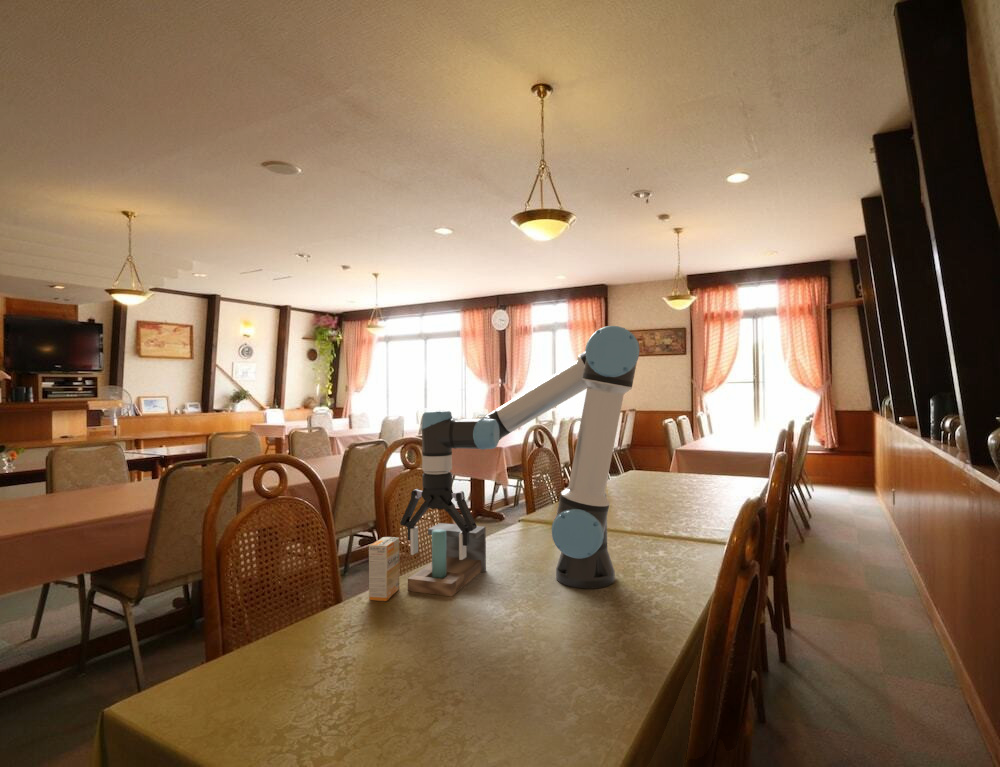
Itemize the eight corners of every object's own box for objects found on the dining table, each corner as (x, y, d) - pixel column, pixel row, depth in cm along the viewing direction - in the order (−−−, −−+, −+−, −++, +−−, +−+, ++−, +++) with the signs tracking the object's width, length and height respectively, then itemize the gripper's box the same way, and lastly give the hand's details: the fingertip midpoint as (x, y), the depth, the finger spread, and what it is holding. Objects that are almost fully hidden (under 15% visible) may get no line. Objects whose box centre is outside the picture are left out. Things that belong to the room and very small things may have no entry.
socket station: (486, 570, 150) (485, 526, 150) (455, 596, 131) (455, 546, 131) (440, 565, 155) (439, 523, 155) (404, 590, 136) (403, 541, 136)
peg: (448, 585, 139) (448, 530, 139) (442, 590, 136) (442, 533, 136) (436, 583, 140) (435, 528, 140) (429, 588, 137) (429, 532, 137)
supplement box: (387, 601, 129) (387, 546, 129) (368, 600, 130) (367, 545, 130) (400, 589, 137) (400, 536, 137) (382, 588, 138) (382, 535, 138)
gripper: (488, 471, 138) (489, 556, 138) (401, 467, 146) (402, 547, 146) (477, 476, 131) (478, 565, 130) (386, 471, 139) (387, 555, 139)
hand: (438, 555), depth 138 cm, fingers open, 13 cm apart
